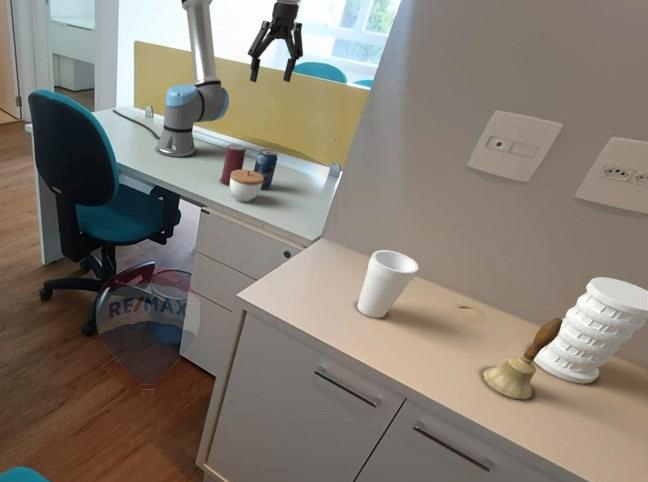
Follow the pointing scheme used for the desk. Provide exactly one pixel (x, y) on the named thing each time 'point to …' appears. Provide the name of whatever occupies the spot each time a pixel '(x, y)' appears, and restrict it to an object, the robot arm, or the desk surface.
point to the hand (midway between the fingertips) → (269, 81)
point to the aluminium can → (233, 161)
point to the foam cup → (385, 281)
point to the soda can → (266, 166)
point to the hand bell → (521, 366)
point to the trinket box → (245, 184)
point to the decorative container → (595, 329)
